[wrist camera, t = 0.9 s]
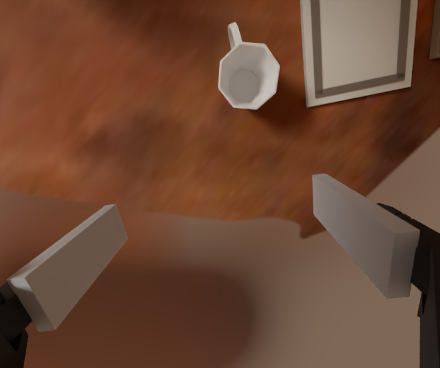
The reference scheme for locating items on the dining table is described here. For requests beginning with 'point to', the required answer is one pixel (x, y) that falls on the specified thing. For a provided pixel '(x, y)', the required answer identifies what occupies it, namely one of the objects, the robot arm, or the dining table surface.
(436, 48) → the ink pad
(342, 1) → the board
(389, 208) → the robot arm
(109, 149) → the dining table surface
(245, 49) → the cup
